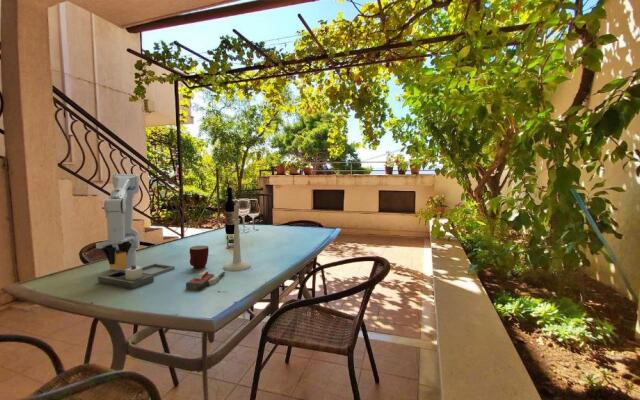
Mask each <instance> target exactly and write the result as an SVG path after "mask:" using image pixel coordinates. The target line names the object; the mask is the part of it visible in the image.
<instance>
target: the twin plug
mask: <svg viewBox="0 0 640 400" xmlns="http://www.w3.org/2000/svg"><path fill="white" fill-rule="evenodd" d="M125 276H126V279H127V280H136V279H138V278H141V277H142V267H136V265H132V266H131V268H129V269H126V270H125Z"/></svg>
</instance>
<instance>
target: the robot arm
mask: <svg viewBox="0 0 640 400" xmlns="http://www.w3.org/2000/svg"><path fill="white" fill-rule="evenodd" d="M111 178H112V180H111V181H112V186H113V188H114V189H112V190H111V192H110V194H109V197H108V198H107V199H106V200H104V202H103V208H104V209H103V210H104V213H105V214H104V215H105V218H106V225H107V226H106V228H107V232H106V233H107V240H104V241H101V242H96V243H95V248H96V249H101V250H102V252H103V253H104V255H105V256H106V259H107V261H108V264H109V265H110V264H114V263H115V252H116V250H117V249H120V251H122V252H126V258H127V267H124V268H121V269H112V270H113V271H119V270H123V271H125V270H126V269H129V268H131V266H132V265H136V267H139V268H142V266H139V265H137V249H139V247H140V244H141V243H140V241H141V240H140V232H139V231H138V230H136V229H135V228H133V218H134V199H135V195H136V194H137V193H139V191H140V177H139V174H137V173H113V175H112V177H111Z"/></svg>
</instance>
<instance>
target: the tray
mask: <svg viewBox="0 0 640 400" xmlns="http://www.w3.org/2000/svg"><path fill="white" fill-rule="evenodd" d="M141 268H142V274H147V275H153V276H154V277H156V276H159V275H162V274H164V273H167V272H170V271H173V270H175V269H176V268H175V265H168V264H161V263H152V264H149V265H146V266H143V267H142V266H141Z"/></svg>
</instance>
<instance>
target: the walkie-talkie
mask: <svg viewBox="0 0 640 400" xmlns="http://www.w3.org/2000/svg"><path fill="white" fill-rule="evenodd" d="M225 274H226V270H223V272H221V273H220V274H219V275H215V274H213V273H209V272H208V271H201V272H200V273H198V274H197V275H196V276H195V277H193V278H191V279H190V280H189V281H187V282H186V283H185V290H187V291H188V290H189V291H203V290H204V289H205V288H206V287H208V286H212V285H215V284H217V283H218V282H219V281H220V279H221V277H223V276H224V275H225Z"/></svg>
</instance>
